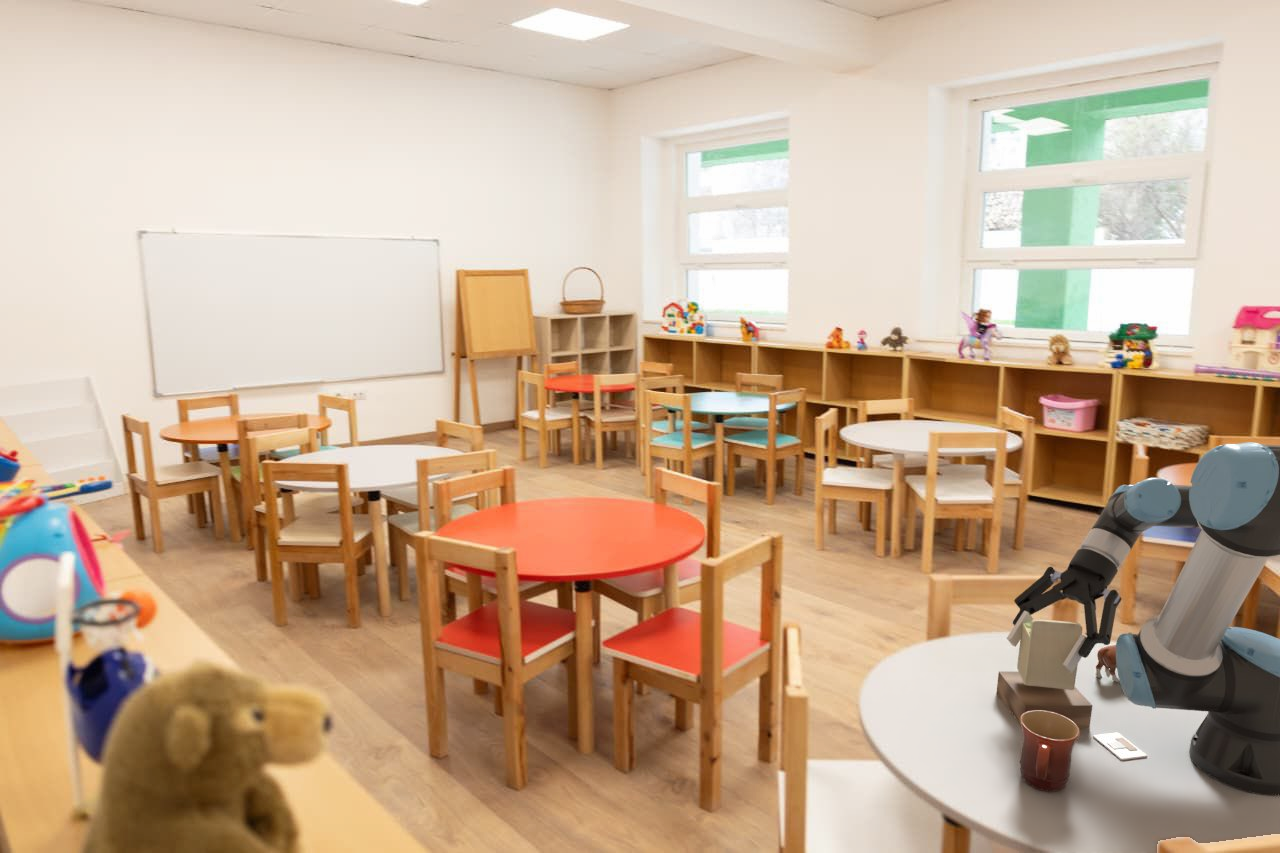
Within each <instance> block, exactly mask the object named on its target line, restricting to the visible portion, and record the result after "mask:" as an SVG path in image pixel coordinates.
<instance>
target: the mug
mask: <svg viewBox="0 0 1280 853" xmlns="http://www.w3.org/2000/svg"><path fill="white" fill-rule="evenodd" d="M1020 723H1021V725H1020V726H1021V730H1022V731H1021V732H1022V745H1021V751H1020V759H1019V769H1020V775H1021V777H1022V779H1023V780H1024V781H1025V782H1026V783H1027V784H1028V785H1029V786H1031V787H1033V788H1036V789H1037V790H1040V791H1043V792H1048V793H1049V792H1050V793H1051V792H1058V791H1061V790H1064V789H1065V788H1066V786H1067V784H1068V783H1069V781H1070V780H1069V778H1070V776H1071V769H1072V768H1071V766H1072V757H1073V756H1072V754H1073V748H1074V746H1075V744H1076V742H1077V740H1078V739H1079V737H1080V734H1081V733H1080V732H1081V731H1080V728H1078V726H1077V725H1076V724H1075V723H1074V722H1073V721H1072V720H1070V719H1068V718H1067V717H1065V716H1063V715H1060V714H1057V713H1054V712H1050V711H1044V710H1032V711H1027V712H1025V713H1023V714H1022V715H1021V717H1020Z"/></svg>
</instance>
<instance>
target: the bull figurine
mask: <svg viewBox="0 0 1280 853" xmlns="http://www.w3.org/2000/svg"><path fill="white" fill-rule="evenodd" d="M1096 656H1097V660H1098V663H1097V664H1096V665H1095V669H1096V673H1095V676H1096V677H1097V678H1099V679H1101V678H1102V677H1103V676H1102V674H1101V671H1102V668H1103V667H1104V672H1105V674H1106V677H1107V678H1109V677H1110V676H1111V678H1112V679H1111V680H1112V681H1113V682H1114V683H1120V680H1119V677H1117V675H1116V670H1117V665H1116V644H1112V645H1106V646H1104V647H1102V648H1100V649H1099V650H1098V651H1097V655H1096Z"/></svg>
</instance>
